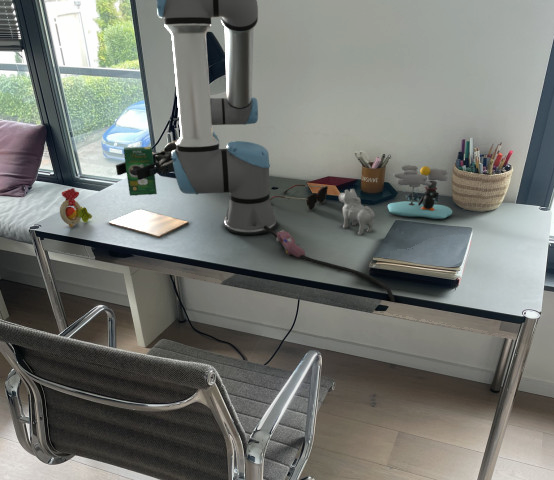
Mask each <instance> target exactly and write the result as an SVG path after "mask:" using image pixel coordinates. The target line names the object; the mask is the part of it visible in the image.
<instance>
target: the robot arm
mask: <svg viewBox="0 0 554 480" xmlns="http://www.w3.org/2000/svg"><path fill="white" fill-rule="evenodd" d="M156 14H157V17H158V18H159V19H161V20H162V19H163V22H164V23H163V24H164V27H165V29H166V30H167V31H168V32H169V33H170V35H171V41H172V42H171V43H172V53H173V64H174V74H175V87H176V97H177V108H178V117H179V118H178V119H179V130H180V137H179V139H176V140H173V141H171V142H169V143H166V145H165V147H164V149H163V150H159V151H155V152H154V150H153V149H152V153H153V163H154V164H151V165H148V166H145V167H143V168H140V169H137V177H138V180H141V179H144V178H147V177H149V176H152V175H154V174H155V175H156V174H157V175H160V174H163V175H168V174H170V173H171V172H174V175H175V179H176V183H177V186H178V188H179V190H180V192H181V193H182V194H186V195H187V194H188V195H199V194H200V195H202V194H224V193H229V203H228V206H227V209H226V213H225V216H224V228H225V229H226V230H227V231H228V232H230V233H233V234H236V235H241V236H257V235H263V234H266V233H269V234H271V235H272V236H273V237H274V238H275V239H276V238H277V235H276V233H277V232H275V231H274V230H275V228H276V226H277V218H276V215H275V213H274V210H273V206H272V203H271V200H270V199H271V198H270V168H271V164H270V154H269V151H268V149H267V148H266V147H265V146H263V145H262V144H259V143H255V142H250V141H241V140H235V141H230V142H227V144H226V148H220V139H219V138H218V135H217V133H216V132H214V131H213V126H226V125H227V126H231V125H232V126H233V125H236V126H237V125H238V126H239V125H252V124H256V123H258V119H259V104H258V103H259V102H258V99H257V98H256V97H254V96H253V68H254V66H253V64H254V28H255V27H256V26H257V24H258V22H259V6H258V0H156ZM212 18H220V22H221V24H222V26H224V45H225V47H224V48H225V78H226V81H225V82H226V83H225V84H226V97H219V98H217V97H215V98H214V97H211V89H210V76H209V75H210V74H209V61H208V45H207V43H208V42H207V33H208V31H210V29H211V27H212ZM115 168H116V169H115V170H116V176H121V175H123V174H127V172H126V164H125V161H124V162H121V163H118V164H115ZM299 259H302V260H305V261H308V262H310V263H312V264H317V265H321V266H324V267H328V268H331V269H335V270H338V271H343V272H347V273H350V274H353V275H356V276H359V277H361V278H365V279H366V280H369V281H370V282H372V283H375V284H376V285H378V286H379V287H381V288H382V289H384V290H385V291H386V293H387V294H388V297H389V300H390V301H391V302H396V299H395V296H394V294H393V292H392V290H391V288H390V287H389V286H388V285H387V284H385V283H383V282H381V281H380V280H378V279H377V278H376V277H373V276H372V275H369V274H367V273H365V272H361V271H359V270H356V269H353V268H349V267H346V266H342V265H338V264H334V263H330V262H327V261H323V260H319V259H317V258H316V259H315V258H312V257H310V256H307V255H305V256H304V255H301V256H300V258H299Z"/></svg>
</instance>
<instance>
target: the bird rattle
mask: <svg viewBox="0 0 554 480" xmlns="http://www.w3.org/2000/svg"><path fill="white" fill-rule="evenodd" d="M61 196H62V197H63V198H65V199H64V201H63V202H62V203H61V204H60V207H59V215H60V216H59V217H60V218H61V220H62V221H63V222H64V223H65V224H66V225H68V226H69V227H70V228H73V227H74V226H75V225H76V224H78V223H79V222H80V221H82V222H83V223H88V221H89V219H92V218H93V215H92V214H91V213H90V212H88V209H87V207H86V206H84V207H83V206H81V205H80V203H79V202H78V201H77V200H76V199H77V198H78V197H79V196H80V191H77V190H76V189H75V188H74V187H72V188H68V189H67V190H64V191H61Z"/></svg>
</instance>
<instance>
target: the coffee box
mask: <svg viewBox="0 0 554 480" xmlns="http://www.w3.org/2000/svg"><path fill="white" fill-rule="evenodd" d="M152 150H153V148H152V146H128V147H123V156H124V162H125V164H126V172H127V173H126V178H127V184H128V185H127V186H128V193H129V196H132V197H133V196H136V197H137V196H147V195H149V196H152V195H157V194H158V192H157V184H156V174H154V175H152V176H149V177H147V178H144V179H141V180H138V177H137V169H140V168H143V167H145V166H148V165H151V164H154V163H153V153H154V152H153V153H152Z"/></svg>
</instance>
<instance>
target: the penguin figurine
mask: <svg viewBox="0 0 554 480" xmlns="http://www.w3.org/2000/svg"><path fill="white" fill-rule="evenodd" d="M401 170H402V171H403V172H394V173H393V177H394V178H397V179H396V183H397V185H400V186H409V188H411V198H410V196H408V195H407V194H406V195H405V198H406V199H407V201H405V200H404V201H397V202H391V203H389V204H387V209H388V212H389V213H390V214H392V215H395V216H401V217H408V218H409V217H410V218H415V217H416V218H427V219H432V220H442V219H446V218H447V217H450V216H452V214H453V210H452V208H450V207H449V206H447V205H443V204H436V203H437V198H438V197H439V192H438V191H437V190H438V188H439V185H438V183H437V181H440V182H447V181H448V174H449V172H448V170H446V169H443V168H436V167H435V168H433V167H431V168H430V166H427V165H424V166H422V167H421V168H420V169H419V168H418V166H416V165H410V164H404V165H402V166H401ZM418 170H419V172H418ZM421 185H423V186H424V191H421V194H424V195H422V196H421V198H416V201H414V200H415V196H414V194H418V193H419V189H418V188H420V187H421ZM406 191H407V190H405V189H403V193H405V192H406ZM406 193H407V192H406Z"/></svg>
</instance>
